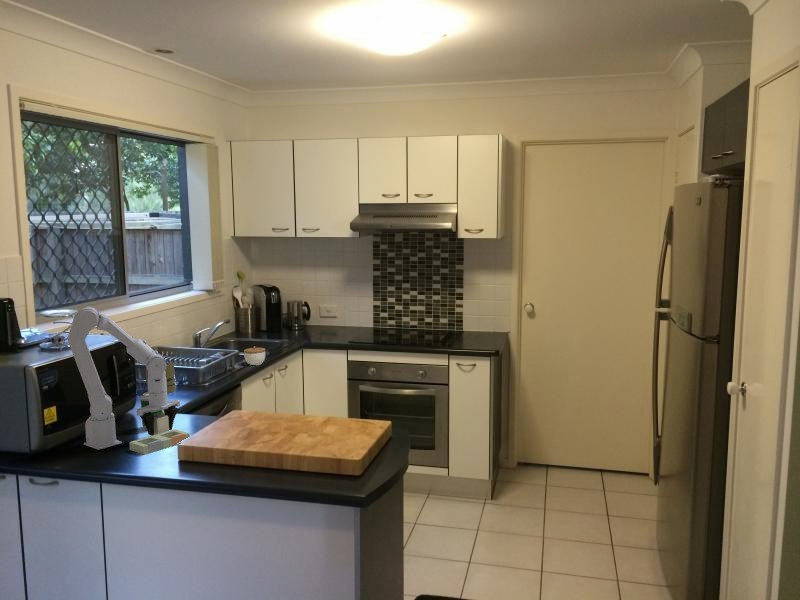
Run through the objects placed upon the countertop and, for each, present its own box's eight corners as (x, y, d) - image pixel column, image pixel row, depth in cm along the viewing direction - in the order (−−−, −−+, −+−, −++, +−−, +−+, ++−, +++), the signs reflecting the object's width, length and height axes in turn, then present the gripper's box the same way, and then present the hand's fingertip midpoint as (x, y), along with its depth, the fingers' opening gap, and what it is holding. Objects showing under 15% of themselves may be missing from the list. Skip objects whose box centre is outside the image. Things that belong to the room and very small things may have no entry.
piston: (162, 367, 276) (139, 366, 280) (164, 395, 278) (141, 394, 281) (179, 361, 287) (157, 361, 291) (180, 389, 288) (159, 388, 292)
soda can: (161, 430, 227) (159, 395, 226) (139, 431, 227) (136, 396, 226) (168, 424, 234) (166, 390, 233) (147, 424, 234) (145, 391, 233)
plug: (151, 437, 219) (150, 414, 218) (162, 434, 222) (161, 411, 221) (158, 439, 216) (157, 416, 216) (169, 436, 220) (168, 413, 219)
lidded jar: (269, 364, 338) (268, 346, 337) (248, 367, 332) (247, 348, 331) (261, 361, 347) (260, 343, 346) (241, 364, 341) (240, 346, 340)
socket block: (129, 449, 207) (129, 441, 206) (175, 436, 219) (175, 428, 219) (144, 454, 202) (143, 445, 201) (190, 441, 214) (189, 432, 214)
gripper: (143, 397, 210) (146, 440, 211) (184, 388, 221) (186, 428, 222) (131, 394, 214) (134, 436, 215) (172, 386, 225) (174, 425, 227)
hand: (160, 432), depth 219 cm, fingers open, 6 cm apart
